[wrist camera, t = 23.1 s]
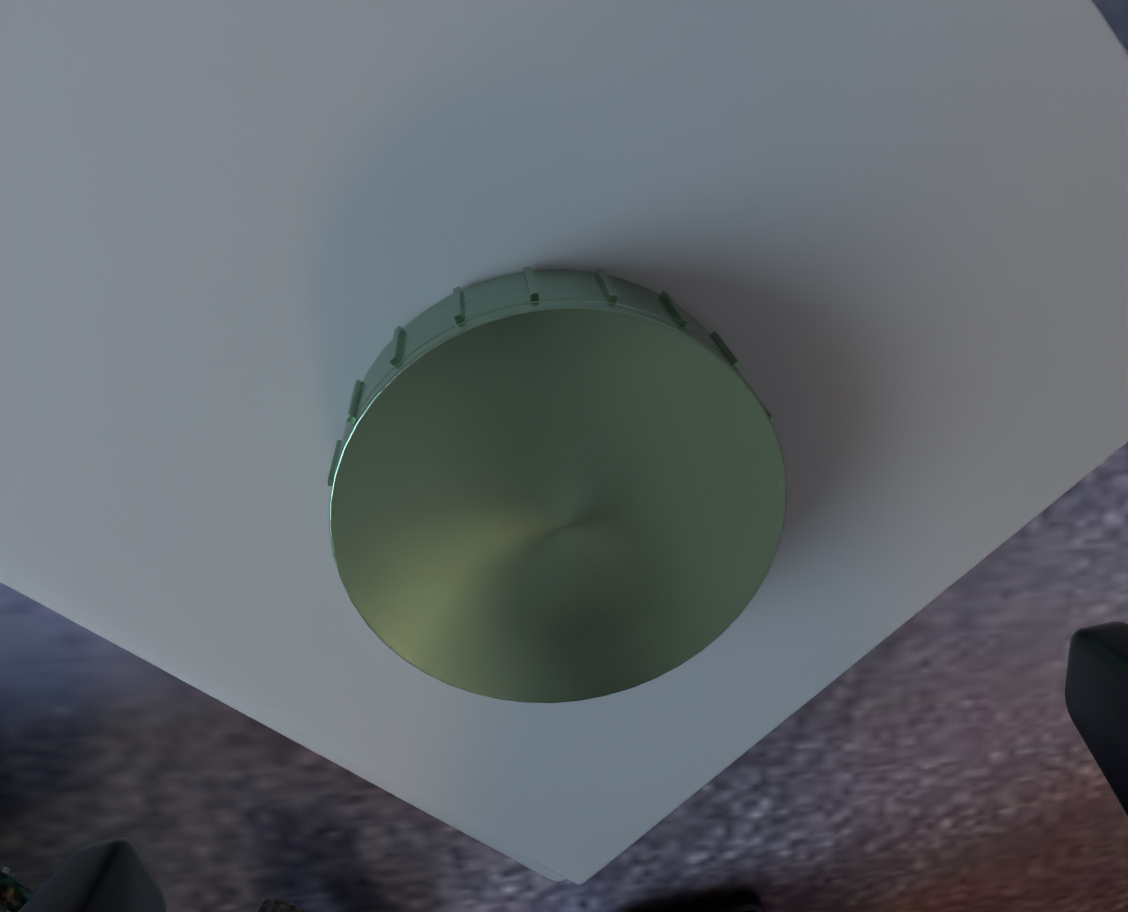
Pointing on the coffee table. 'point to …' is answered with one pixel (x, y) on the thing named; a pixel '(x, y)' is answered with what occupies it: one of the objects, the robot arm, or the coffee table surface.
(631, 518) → the jar lid
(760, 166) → the book
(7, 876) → the mineral
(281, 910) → the stone
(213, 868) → the coffee table surface
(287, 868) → the coffee table surface
